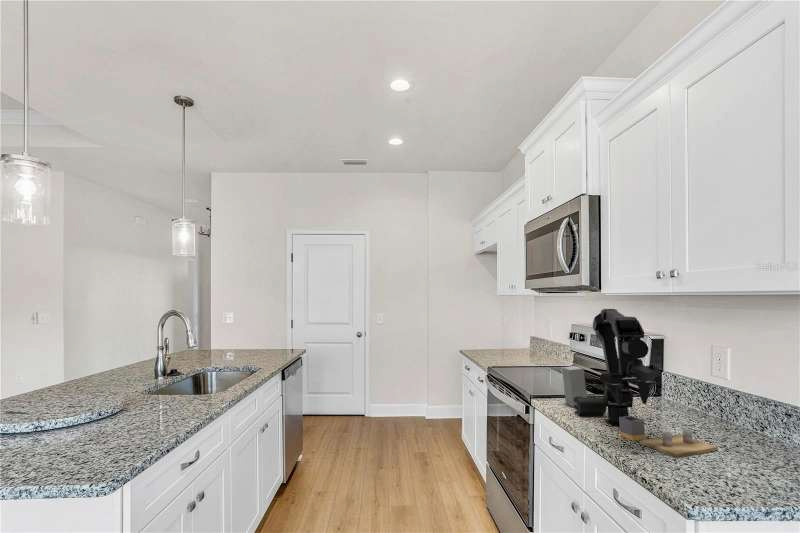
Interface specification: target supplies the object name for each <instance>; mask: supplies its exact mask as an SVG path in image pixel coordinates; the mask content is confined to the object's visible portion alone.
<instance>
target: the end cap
mask: <svg viewBox="0 0 800 533" xmlns="http://www.w3.org/2000/svg"><path fill="white" fill-rule="evenodd" d="M574 402H576V403H577V406H576V405H574V407H573V408H574V410H575V412H574V414H576V415H578V416H603V415H605V414H606V413H607V410H608V407H606V406H605V405H604V404H603V396H602V397H601V396H600V397H598V396H595V395H593V396H588V397H587V398H583V397H574Z"/></svg>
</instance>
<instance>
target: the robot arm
mask: <svg viewBox="0 0 800 533" xmlns="http://www.w3.org/2000/svg"><path fill="white" fill-rule="evenodd" d="M592 329H593V331H594V333H595V337H596V338H597V339H598V340H599V341H600V342H601V346H602V351H603V358H604V361H605V362H604V363H605V367H606V372H602V373H600V375H599V382H601V383H603V385H605V386H604V388H605V389H604V392H603V395H602V398H603V404H604V405H605V406H606V407H607V419H604V422H606V423H609V424H611V425H613V426H616V427H620V425H619V417H625V416H630V412H629V408H630V409H632V408H633V405H634V404H633V403H634V394H633V392H632V390H631V388H630V383H629V381H636V383H637V387H638V388H637V389H638V392H639V396H640V399H641V403H642V405H646V404H647V402H648V399H649V396H650V393H651V390H652V388H653V387H654V386H656V385H658V382H662V380H661V374H660V369H659V366H658V365H656V364H649V365H644V363H643V358H645V357H646V356H647V355H648V354H649V346H648V344H647V343H646V342H645V341H644V340H642V339H645V331H644V329H643V327H642V325H641V323H640V321H639V320H638V318H636V317H635V316H626V315H624V314H622V313H620V311H618V309H615V308H603V309H601V311H600V313H598V314H597V315H596V316H594V318H593V321H592ZM615 339H616V340H617V342H616V341H615ZM616 343H617V346H616Z"/></svg>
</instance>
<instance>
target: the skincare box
mask: <svg viewBox="0 0 800 533" xmlns="http://www.w3.org/2000/svg"><path fill="white" fill-rule="evenodd" d="M561 370H562V379H563V388H564V397H565V403H566V404H567V405H568V406H571V407H572V408H574V405H576V406H577V403H576V402H574V397H583V398H588V393H587V387H586V379H585V369H584V368H582V367H579V366H576V365H575V366H574V365H573V366H562V367H561Z"/></svg>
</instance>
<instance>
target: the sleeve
mask: <svg viewBox="0 0 800 533" xmlns="http://www.w3.org/2000/svg"><path fill="white" fill-rule="evenodd" d="M619 425H620V426H619V436H620V437H622V436H623V437H622V438H624V437H625V438H624V439H626V440H630V441H631V440H632V442H634V441H640V440H645V439H646V432H645V420H644V419H642V418H639V417H637V416H633V415H629V416H625V417H619Z"/></svg>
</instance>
